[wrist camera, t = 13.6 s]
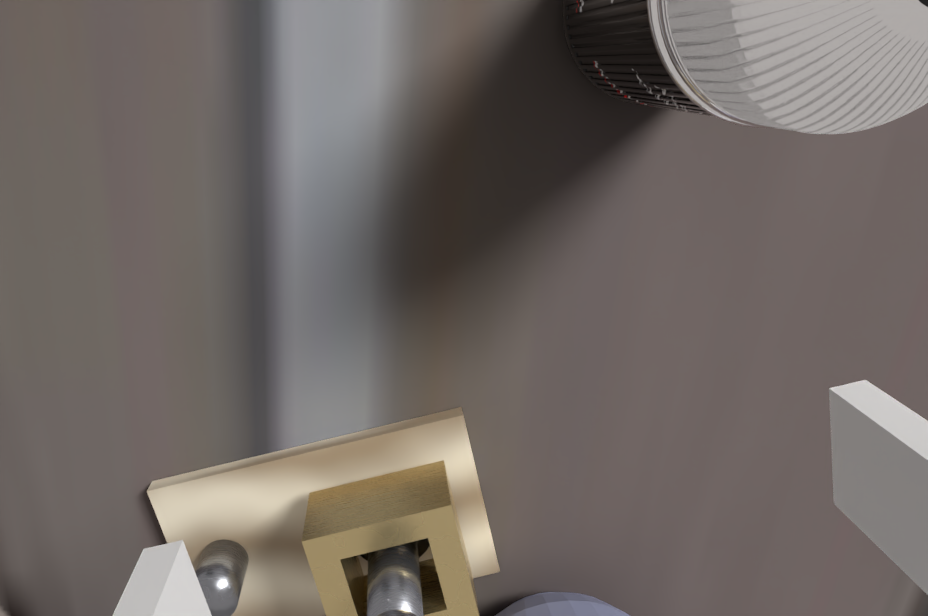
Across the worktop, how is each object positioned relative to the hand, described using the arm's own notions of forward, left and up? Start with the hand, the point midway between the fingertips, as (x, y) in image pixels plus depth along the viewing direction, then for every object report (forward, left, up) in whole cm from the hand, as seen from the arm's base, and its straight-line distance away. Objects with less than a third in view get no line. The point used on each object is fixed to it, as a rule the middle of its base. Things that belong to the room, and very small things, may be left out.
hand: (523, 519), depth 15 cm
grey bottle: (-9, +14, -31) cm, 36 cm away
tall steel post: (+18, -7, -30) cm, 36 cm away
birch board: (+18, -11, -31) cm, 38 cm away
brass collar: (+19, -7, -29) cm, 35 cm away
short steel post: (+18, -18, -30) cm, 39 cm away
